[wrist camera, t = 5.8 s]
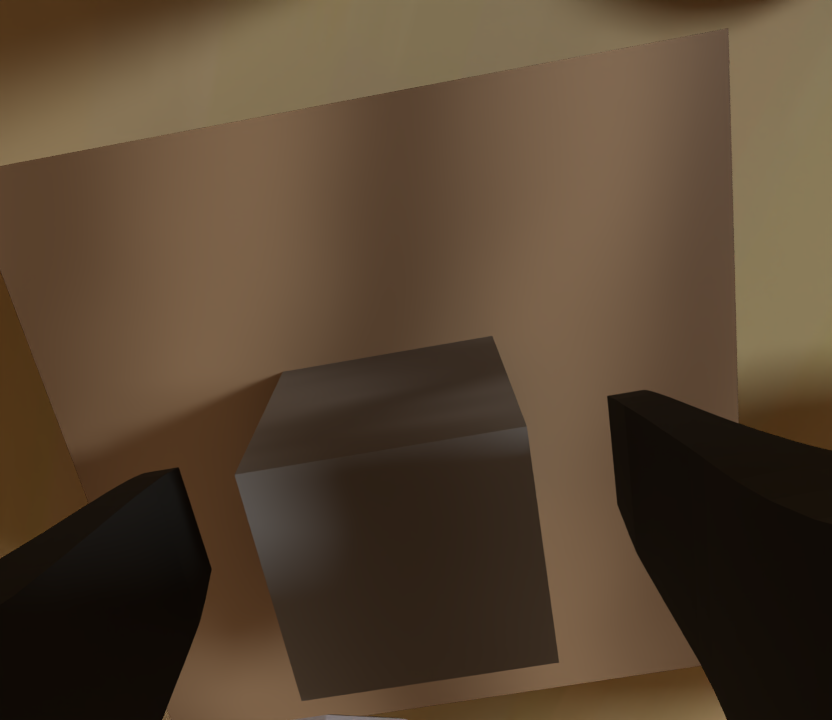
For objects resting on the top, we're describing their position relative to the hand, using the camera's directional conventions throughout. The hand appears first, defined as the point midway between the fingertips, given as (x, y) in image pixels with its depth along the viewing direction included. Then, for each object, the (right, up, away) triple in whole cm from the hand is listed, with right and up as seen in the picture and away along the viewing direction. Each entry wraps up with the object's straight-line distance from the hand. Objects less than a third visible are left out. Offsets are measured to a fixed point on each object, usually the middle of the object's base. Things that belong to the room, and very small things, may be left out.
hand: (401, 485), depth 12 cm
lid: (0, +1, +3) cm, 3 cm away
